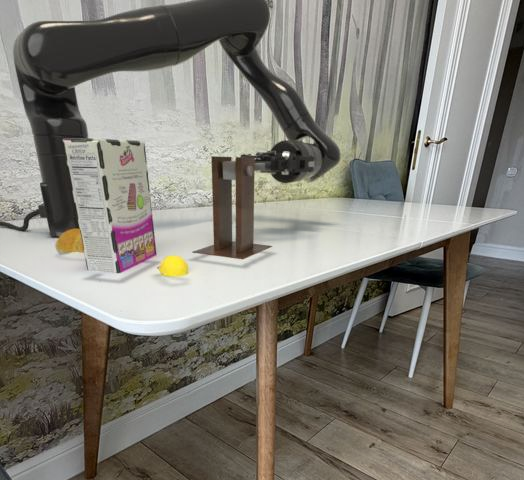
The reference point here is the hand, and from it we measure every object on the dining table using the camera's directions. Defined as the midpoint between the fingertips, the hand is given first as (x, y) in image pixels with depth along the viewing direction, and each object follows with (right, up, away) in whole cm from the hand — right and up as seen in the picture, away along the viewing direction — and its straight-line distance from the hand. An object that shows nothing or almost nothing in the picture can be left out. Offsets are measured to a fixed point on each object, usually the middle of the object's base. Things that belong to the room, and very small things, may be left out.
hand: (257, 164), depth 66 cm
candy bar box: (-19, -20, -10) cm, 29 cm away
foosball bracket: (-4, -16, -1) cm, 16 cm away
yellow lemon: (-11, -22, -14) cm, 28 cm away
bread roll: (-27, -16, -2) cm, 32 cm away
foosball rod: (-1, -3, -2) cm, 4 cm away
